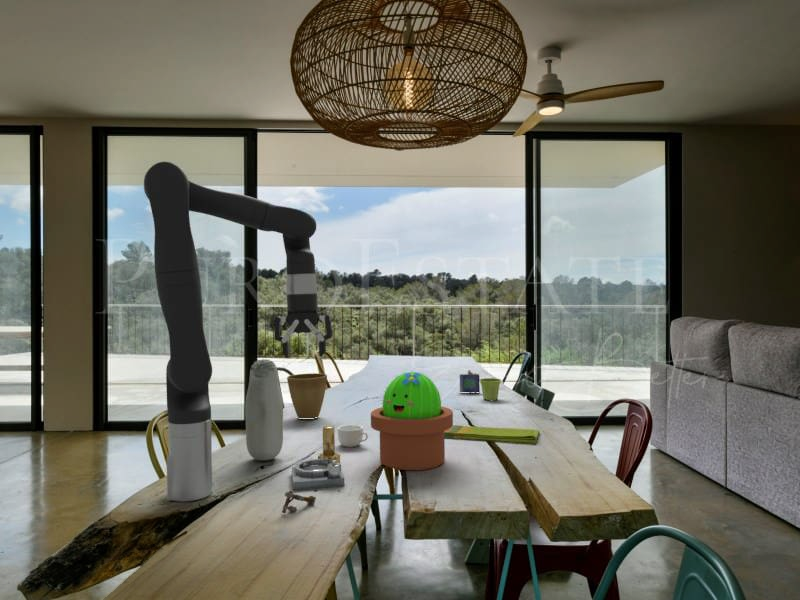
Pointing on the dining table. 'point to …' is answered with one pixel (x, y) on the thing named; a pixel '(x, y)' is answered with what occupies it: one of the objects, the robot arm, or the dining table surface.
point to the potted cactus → (412, 423)
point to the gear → (329, 444)
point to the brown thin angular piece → (290, 495)
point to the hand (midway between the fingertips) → (304, 356)
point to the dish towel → (492, 434)
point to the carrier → (317, 474)
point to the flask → (469, 382)
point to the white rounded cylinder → (264, 412)
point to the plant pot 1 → (307, 393)
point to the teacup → (351, 435)
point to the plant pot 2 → (490, 388)
